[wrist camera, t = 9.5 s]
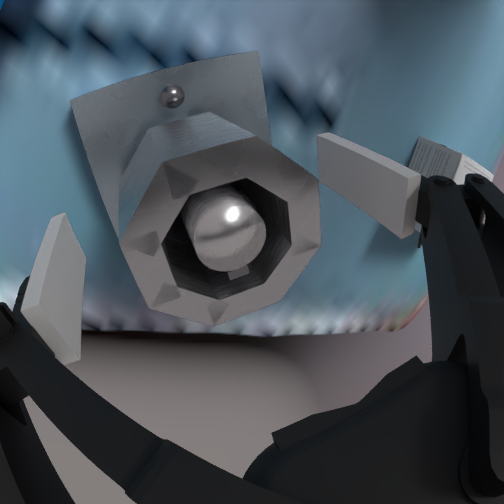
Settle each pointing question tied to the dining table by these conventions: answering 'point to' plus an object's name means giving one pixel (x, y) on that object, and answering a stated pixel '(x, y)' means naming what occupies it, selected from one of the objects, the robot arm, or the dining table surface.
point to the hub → (202, 178)
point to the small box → (443, 164)
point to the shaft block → (171, 109)
